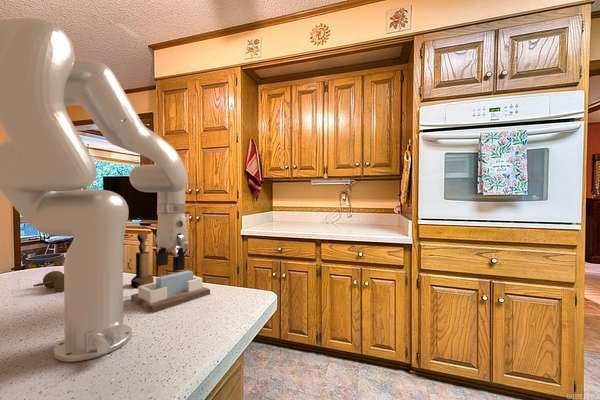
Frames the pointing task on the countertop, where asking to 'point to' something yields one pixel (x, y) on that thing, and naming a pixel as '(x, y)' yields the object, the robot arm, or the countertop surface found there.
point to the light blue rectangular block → (174, 281)
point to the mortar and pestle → (142, 264)
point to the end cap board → (171, 299)
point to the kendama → (53, 281)
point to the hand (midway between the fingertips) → (170, 267)
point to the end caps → (164, 290)
